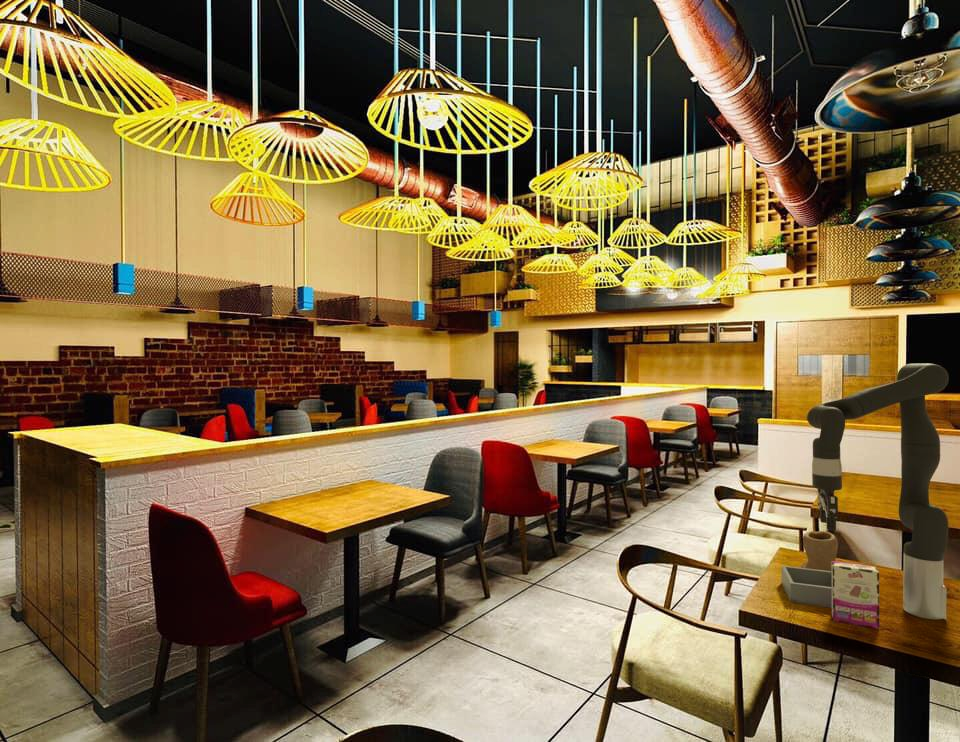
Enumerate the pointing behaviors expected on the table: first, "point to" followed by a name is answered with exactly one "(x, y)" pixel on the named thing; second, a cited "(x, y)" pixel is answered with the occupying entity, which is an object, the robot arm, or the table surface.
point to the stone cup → (819, 550)
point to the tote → (808, 586)
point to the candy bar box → (855, 594)
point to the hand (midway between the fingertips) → (827, 526)
